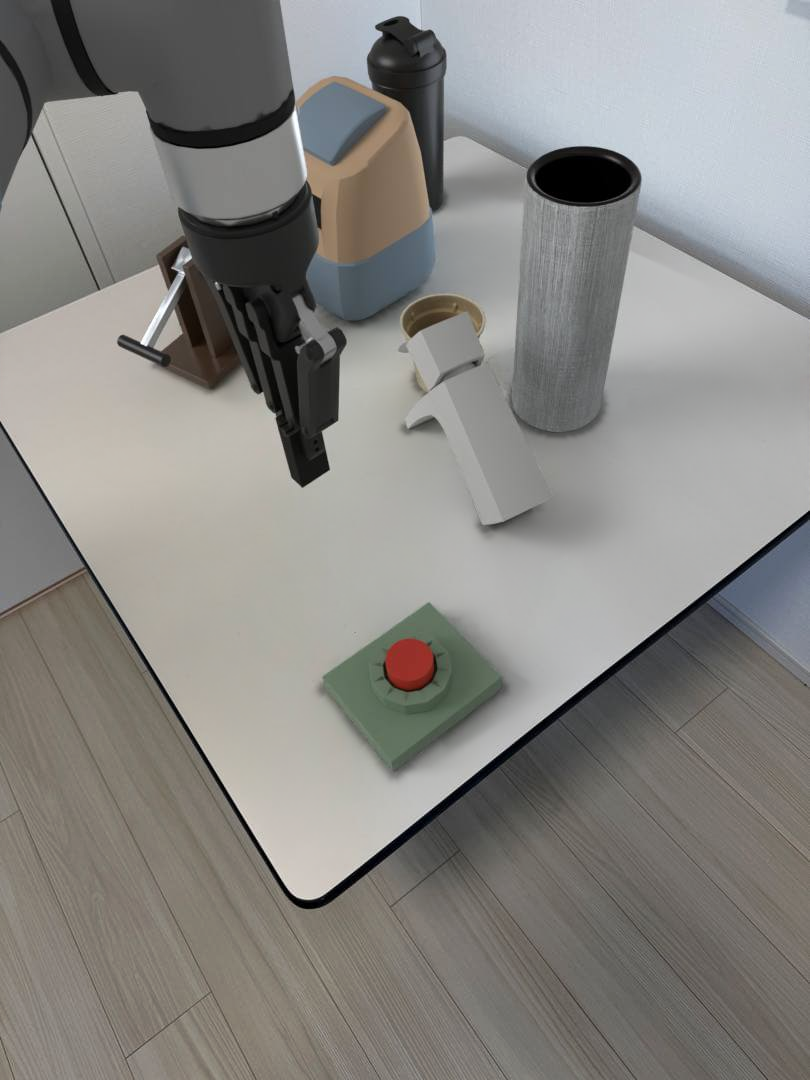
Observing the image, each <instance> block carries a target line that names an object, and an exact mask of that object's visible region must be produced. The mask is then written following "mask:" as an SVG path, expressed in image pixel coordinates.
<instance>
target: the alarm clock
mask: <svg viewBox="0 0 810 1080" xmlns="http://www.w3.org/2000/svg"><path fill="white" fill-rule="evenodd" d="M295 104H296V105H297V106H298V107H299V114H300V115H299V117H298V122H299V128H300V134H301V139H302V145H303V150H304V156H305V161H306V167H307V178H306V180H307V182H308V183H309V185H310V187H311V191H312V197H313V203H314V209H315V215H316V221H317V227H318V232H319V244H318V248H317V251H316V253H315V255H314V257H313V258H312V260H311V262H310V265H309V267H308V270H307V273H306V277H307V279H308V282H309V285H310V287H311V290H312V292H313V294H314V297H315V300H316V304H318V305H320V307H322V308H323V309H325V310H326V311H328V312H329V313H331V314H333V315H334V316H335V317H337V318H339V319H342V320H343V321H344V320H345V321H362V320H364V319H367V318H370V317H372V316H374V315H375V314H377V313H379V312H380V311H382V310H384V309H385V308H387V307H388V306H390V305H391V304H393V303H395V302H396V301H398V300H399V299H401V298H403V297H404V296H406V295H408V294H409V293H411V292H412V291H415V290H416V289H418V288H419V287H420V286H421V284H422V283H423V282H424V281H425V280H426V279H428V277H430V275H431V274H432V272H433V268H434V266H435V263H436V242H435V241H436V240H435V230H434V228H435V227H434V217H433V212H432V209H431V208H430V207H429V201H428V194H427V188H426V182H425V176H424V169H423V163H422V157H421V151H420V148H419V144H418V141H417V137H416V134H415V130H414V127H413V123H412V120H411V116H410V113H409V111H408V110H407V109H406V108H405V107H404V106H403V105H402V104H401V103H400V102H398V101H396V100H394V99H392V98H389V97H387V96H385V95H383V94H381V93H379V92H377V91H374V90H372V88H370V87H368V86H366V85H363V84H361V83H359V82H358V81H355V80H353V79H351V78H348V77H345V76H339V75H338V76H337V75H332V76H329V77H328V76H327V77H325V78H323V79H320V80H318V81H317V82H316V83H314V84H313V85H311V86H310V87H308V88H307V90H306V91H304V93H303V94H302V95H301V96H300V97H299V98H298V99H296V100H295Z"/></svg>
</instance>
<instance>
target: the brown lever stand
mask: <svg viewBox="0 0 810 1080" xmlns="http://www.w3.org/2000/svg"><path fill="white" fill-rule="evenodd" d="M182 247H185V248H188V249H189V247H188V244H187V241H186V237H185V235H181V236H180V237H178V238H177V239H175V240H174V241H173V242H171V243H170V244H169V245H167V246H166V247H165V248H164V249H162V250H160V251H159V252H158V253H157V254H156V255H155V257H156V260H157V263H158V266H159V269H160V272H161V275H162V278H163V280H164V283H165V286H166V290H167V292H168V291H169V289H170V287H171V285H172V283H173V281H174V280H175V278H176V276H177V273H176V272H175V271H174V270H173V269H172V268H171V267H172V265H173V263H174V262H175V260H176V258H177V256H178V254H179V252H180V251H181V249H182ZM182 267H183V270H184V273H185V276H186V279H187V283H188V284H187V286H186V287H185V289H184V291H183V293H182V295H181V297H180V299H179V300H178V302H177V304H176V306H175V308H174V312H175V315H176V319H177V321H178V323H179V327H180V331H181V332H182V334H180V335H179V336H178V337H177V338H175V339H174V340H173V341H171V342H170V343H169V344H168V345H167V346H166V347H165V348H164V349H162V350H160V351H161V352H163V353H165V354H167V355H169V356H170V358H171V362H170V364H169V365H168V366H167V367H162V366H160V365H158V364H156V366H159V367H160V368H162V369H164V370H166V371H169V372H171V373H173V374H176V375H177V376H179V377H182V378H184V379H186V380H189V381H191V382H193V383H194V384H197V385H198V386H201V387H203V388H206V389H208V390H212V389H213V388H214V387H215V386H217V385H218V384H219V383H220V382H221V381H222V380H223V379H224V378H225V377H227V376H228V375H230V373H231V372H232V371H233V370H234V369H236V368H237V367H238V366H239V365H240V364H242V363H241V360H240V358H239V355H238V353H237V350H236V348H235V345H234V343H233V340H232V338H231V335H230V333H229V330H228V328H227V326H226V323H225V321H224V318H223V316H222V313H221V311H220V308H219V306H218V303H217V301H216V298H215V297H214V295H213V293H212V291H211V289H210V287H209V285H208V284H207V282H206V280H205V278H204V277H203V275H202V273H201V272H200V271H199V270H198V269H197V267H196V266H195V264H194V262H193V259H190V260H189V261H188V262H186V263H185V264H184V265H183V266H182Z"/></svg>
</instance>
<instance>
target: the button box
mask: <svg viewBox="0 0 810 1080" xmlns="http://www.w3.org/2000/svg"><path fill="white" fill-rule="evenodd" d="M409 638H410V639H417V640H420V641H422V642H424V643H425V644H427V645H428V646H429V648H430V649H431V651H432V653H433V660H434V673H433V676H432V678H431V680H430V681H429V682H428V683H427V684H426V685H425V686H423V687H421V688H419V689H416V690H404V689H401V688H398V687H397V686H395V685H394V684H393V683H392V682H391V681H390V679H389V677H388V674H387V668H386V661H385V660H386V654H387V652H388V650H389V649H390V647H391V646H392V645H393V644H395V643H396V642H398V641H400V640H403V639H409ZM321 678H322V681H323V684H324V685H323V686H324V688H325V690H326V691H327V692H328V693H329V695H330V696H331V697H332V698H333V700H334V701H335V702H336V703H337V704H338V706H339V707H340V708H341V710H342V711H343V712H344V713H345V715H346V716H348V718H349V719H350V720H351V722H352V723H353V724H354V725H355V727H356V728H357V729H358V731H359V732H360V733H361V734H362V736H363V737H364V738H365V739H366V740H367V742H368V743H369V744H370V746H371V747H372V748H373V749H374V750H375V752H376V753H377V754H378V755H379V756H380V758H381V759H382V760H383V761H384V763H385V764H386V765H387V766H388V768H389V769H390V771H392V772H393V773H394V772H395V771H397V770H398V769H399V768H401V767H402V766H403V765H404V764H406V763H407V762H408V761H409V760H411V759H412V758H413V757H415V756H416V755H417V754H419V753H420V752H421V751H423V750H424V749H425V748H427V747H428V746H429V745H431V744H432V743H433V742H434V741H435V740H437V739H438V738H439V737H440V736H442V735H443V734H444V733H446V732H447V731H448V730H450V729H451V728H453V727H454V726H455V725H457V724H458V723H459V722H460V721H461V720H463V719H464V718H465V717H466V716H468V715H469V714H470V713H471V712H473V711H474V710H475V709H477V708H478V707H479V706H481V705H483V703H485V702H486V701H487V700H488V699H490V698H491V697H492V696H494V694H496V693H497V692H499V691H500V690H501V689H502V682H503V676H502V675H501V674H500V673H499V672H498V671H497V670H496V669H495V668H494V667H493V666H492V665H491V664H490V663H489V661H487V660H486V659H485V657H483V655H482V654H480V652H479V651H478V650H477V649H476V648H474V646H473V645H472V644H471V643H470V642H469V641H468V640H467V639H466V638H465V637H464V636H463V634H461V633H460V632H459V631H458V630H457V628H455V627H454V626H453V625H452V624H451V623H450V622H449V621H448V620H447V619H446V618H445V616H443V614H442V613H441V612H439V610H438V609H437V608H436V607H435V606H434V605H433V604H432V603H431V602H430V601H428V602H427V603H425V604H424V605H422V606H421V607H420V608H418V609H416V610H415V611H414V612H413V613H411V614H409V615H408V616H407V617H405V618H404V619H402V620H401V621H400V622H398V623H397V624H396V625H393V626H392V627H391V628H390V629H389V630H387V631H385V632H384V633H382V634H381V635H380V636H378V637H377V638H375V639H373V640H372V641H371V642H369V643H368V644H367V645H365V646H363V648H361V649H359V650H358V651H357V652H356V653H354V654H352V655H351V656H349V657H348V658H347V659H346V660H344V661H342V662H341V663H339V664H338V665H337V666H335V667H334V668H332V669H331V670H330V671H328V672H327V673H325V674H324V675H323V676H322V677H321Z"/></svg>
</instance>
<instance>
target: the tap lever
mask: <svg viewBox="0 0 810 1080" xmlns="http://www.w3.org/2000/svg"><path fill="white" fill-rule="evenodd" d="M190 259H192V256H191V253H190V250H189V249H188V248H185V247H182V249H181V251H180V252H179V254H178V256H177V258H176V260H175V262H174V263H173V265H172V267H171V268H172V269H173V270H174V271H175V272H176V273H177V276H176V278H175V280H174V281H173V283H172V285H171V287H170V289H169V291H168V290H167V293H166V294H165V297H164V298H163V300H162V301H161V304H160V306H159V307H158V309H157V310H156V313H155V315H154V317H153V319H152V320H151V322H150V324H149V326H148V328H147V330H146V331H145V333H144V335H143V337H142V339H141V340H140V341H139V340H136V339H135V338H132V337H130V336H128V335H126V334H120V335H119V336H118V338H117V340H116V343H117V346H118V347H119V348H122V349H124V350H125V351H128V352H130V353H132V354H134V355H137V356H139V357H141V358H143V359H145V360H147V361H149V362H152V363H154V364H156V365H157V364H158V365H160V366H162V367H161V368H163V367H167V366H168V365H169V364H170V362H171V358H170V356H169V355H167V354H165V353H163V352H161V351H162V350H159V349H156V348H154V347H155V345H156V343H157V341H158V340H159V338H160V336H161V334H162V332H163V330H164V328H165V326H166V325H167V322H168V320H169V319H170V318H171V315H172V314H173V311H175V309H174V308H175V306H176V304H177V302H178V300H179V299H180V297H181V295H182V293H183V291H184V289H185V287H186V286H187V284H188V283H187V279H186V276H185V273H184V270H183V267H182V266H183V265H184V264H185V263H186V262H188V261H189V260H190ZM158 365H157V366H158ZM160 366H159V367H160Z"/></svg>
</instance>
